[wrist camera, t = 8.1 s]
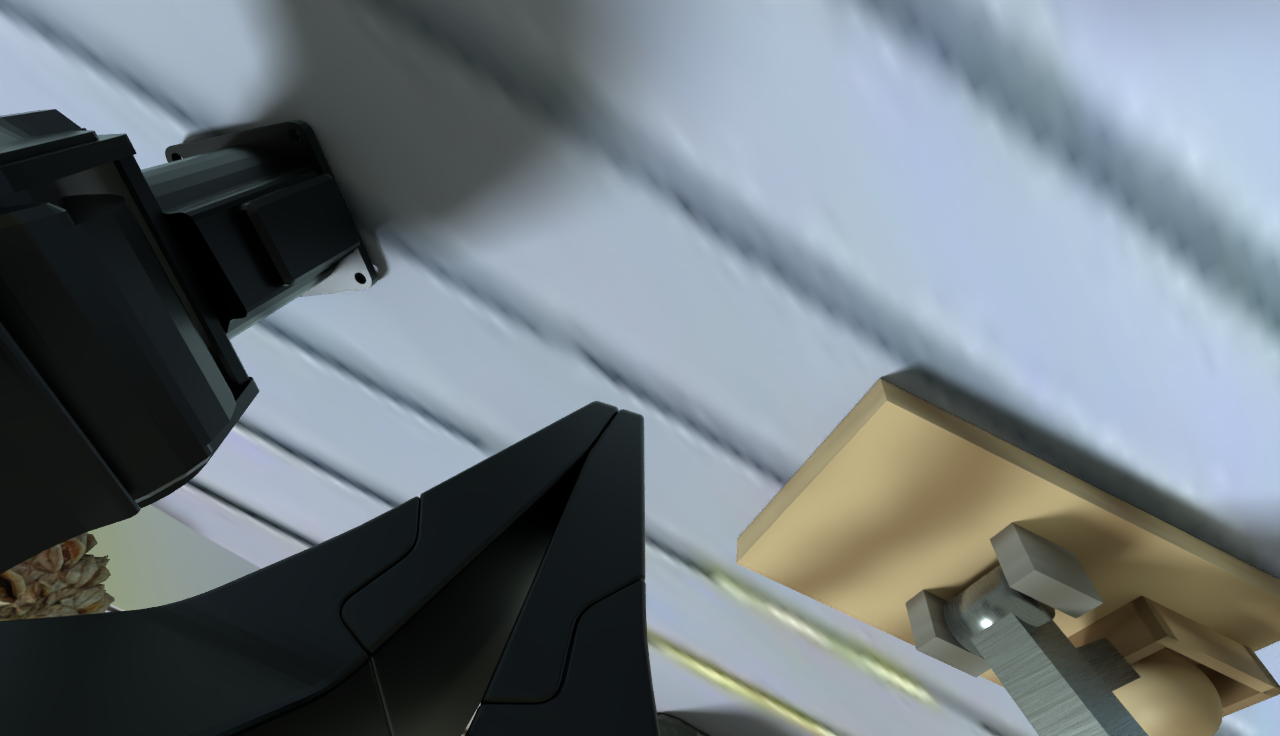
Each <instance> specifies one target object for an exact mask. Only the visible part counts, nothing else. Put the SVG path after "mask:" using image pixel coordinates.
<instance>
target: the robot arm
mask: <svg viewBox="0 0 1280 736" xmlns="http://www.w3.org/2000/svg"><path fill="white" fill-rule="evenodd" d="M296 131H298V132H299V134H300V135H301V139H302V140H299V139H298V137H297V136H296ZM134 154H137V153H136V152H135V150H134V148H133V146H132V144H131V142H130V140H129V138H128V136H127V134H110V135H97V134H96V133H95V131H87V130H86V128H81V127H79V126H78V125H76V124H75V123H74V122H72V121H71V120H70V119H68V118H67V117H66V116H64V115H63V114H62V113H60V112H59V111H57V110H56V109H51V110H38V111H31V112H24V113H18V114H11V115H4V116H0V574H2V573H4V572H6V571H8V570H9V569H11V568H13V567H15V566H16V565H18V564H20V563H22V562H24V561H26V560H28V559H30V558H32V557H33V556H35V555H37V554H39V553H41V552H43V551H45V550H47V549H49V548H51V547H54V546H56V545H58V544H60V543H63V542H65V541H67V540H70V539H72V538H74V537H76V536H79V535H81V534H83V533H86V532H88V531H91V530H94V529H97V528H100V527H103V526H106V525H110V524H113V523H116V522H119V521H122V520H125V519H128V518H131V517H133V516H134V515H136V514H137V513H138V512H139V511H140V508H143V507H145V506H148V505H150V504H152V503H154V502H156V501H158V500H160V499H162V498H164V497H166V496H167V495H169V494H171V493H172V492H174V491H175V490H177V489H178V488H180V487H182V486H183V485H185V484H186V483H187V482H188V481H189V480H191V479H192V478H193V477H194V476H196V475H197V474H198V473H199V472H200V470H201V469H202V468H203V467H204V466H205V465H206V464H207V462H208V461H209V460H210V458H211V457H212V456H213V454H214V453H215V451H216V450H217V449H218V447H219V446H220V445H221V443H222V442H223V440H224V439H225V438H226V436H227V435H228V434H229V432H230V431H231V429H232V428H233V427H234V425H235V424H236V423H237V421H238V420H239V419H240V417H241V416H242V414H243V413H244V412H245V410H246V409H247V408H248V406H249V405H250V403H251V402H252V401H253V399H254V398H255V397H256V395H257V394H258V393H259V389H258V387H257V385H256V383H255V382H254V380H253V378H252V377H248V375H247V373H246V371H245V369H244V367H243V365H242V363H241V361H240V359H239V358H238V356H237V354H236V352H235V350H234V348H233V346H232V344H231V342H230V339H231V338H233V337H235V336H236V335H238V334H239V333H241V332H243V331H244V330H246V329H247V328H249V327H251V326H252V325H254V324H255V323H257V322H259V321H260V320H262V319H263V318H265V317H267V316H268V315H270V314H271V313H273V312H275V311H276V310H278V309H279V308H281V307H283V306H284V305H286V304H287V303H289V302H291V301H292V300H294V299H295V298H297V297H303V296H312V295H321V294H330V293H339V292H348V291H357V290H366V289H368V288H370V287H371V286H373V285H374V284H375V283H376V282H377V274H376V272H375V269H374V267H373V265H372V263H371V260H370V258H369V256H368V254H367V251H366V249H365V247H364V245H363V242H362V240H361V238H360V236H359V233H358V231H357V229H356V227H355V224H354V222H353V220H352V218H351V215H350V213H349V211H348V209H347V206H346V204H345V202H344V200H343V197H342V195H341V193H340V191H339V188H338V186H337V184H336V182H335V179H334V177H333V175H332V173H331V170H330V168H329V166H328V164H327V161H326V159H325V157H324V155H323V152H322V150H321V148H320V146H319V143H318V141H317V139H316V137H315V134H314V132H313V130H312V129H311V127H310V126H309V125H308V124H307V123H306V122H303V121H301V120H293V121H288V122H283V123H278V124H273V125H269V126H264V127H259V128H254V129H249V130H244V131H240V132H235V133H230V134H225V135H220V136H215V137H211V138H206V139H201V140H196V141H191V142H186V143H182V144H177V145H173V146H169V147H168V148H167V149H166V151H165V155H166V158H167V161H168V163H166V164H162V165H158V166H155V167H151V168H147V169H143V170H141V169H140V168H139V166H138V164H137V162H136V160H135V158H134V156H133V155H134ZM181 157H182V158H183V159H181ZM360 273H362V274H363V275H364V276H365V277H366V280H365V279H364V278H362V276H361V274H360ZM644 581H645V484H644V418H643V416H642V415H640V414H637V413H634V412H631V411H628V410H625V409H622V410H618V408H617V407H615V406H612V405H609V404H606V403H603V402H599V401H595V402H592V403H590V404H588V405H586V406H584V407H582V408H581V409H579V410H577V411H575V412H573V413H571V414H569V415H567V416H566V417H564V418H562V419H560V420H558V421H556V422H554V423H553V424H551V425H549V426H547V427H545V428H543V429H541V430H539V431H538V432H536V433H534V434H532V435H530V436H528V437H526V438H525V439H523V440H521V441H519V442H517V443H515V444H513V445H511V446H510V447H508V448H506V449H504V450H502V451H500V452H498V453H497V454H495V455H493V456H491V457H489V458H487V459H485V460H484V461H482V462H480V463H478V464H476V465H474V466H472V467H470V468H469V469H467V470H465V471H463V472H461V473H459V474H457V475H456V476H454V477H452V478H450V479H448V480H446V481H444V482H442V483H441V484H439V485H437V486H435V487H433V488H431V489H429V490H428V491H426V492H424V493H422V494H421V496H420V498H419V497H414V498H412V499H410V500H408V501H407V502H405V503H403V504H401V505H399V506H397V507H395V508H394V509H392V510H390V511H388V512H386V513H384V514H382V515H380V516H378V517H376V518H374V519H372V520H370V521H368V522H366V523H364V524H362V525H360V526H358V527H356V528H353V529H351V530H349V531H347V532H345V533H342V534H340V535H338V536H336V537H334V538H331V539H329V540H327V541H325V542H323V543H320V544H318V545H316V546H314V547H311V548H309V549H307V550H304V551H302V552H300V553H297V554H295V555H293V556H290V557H288V558H286V559H283V560H281V561H279V562H276V563H274V564H272V565H269V566H267V567H265V568H262V569H260V570H258V571H255V572H253V573H251V574H248V575H246V576H244V577H241V578H239V579H237V580H235V581H232V582H230V583H227V584H225V585H223V586H220V587H218V588H216V589H213V590H210V591H208V592H205V593H203V594H200V595H197V596H194V597H192V598H188V599H185V600H182V601H179V602H174V603H171V604H167V605H163V606H158V607H152V608H147V609H140V610H131V611H120V612H107V613H95V614H83V615H70V616H58V617H46V618H33V619H21V620H9V621H0V736H461V735H462V733H463V732H464V730H465V728H466V727H467V725H468V723H469V721H470V720H471V718H472V716H473V715H474V713H475V711H476V709H477V708H478V706H479V704H480V702H481V706H479V708H478V709H477V712H476V714H475V716H474V718H473V720H472V723H471V725H470V727H469V729H468V731H467V733H466V735H465V736H660V731H659V724H658V718H657V711H656V705H655V698H654V691H653V685H652V677H651V669H650V660H649V652H648V643H647V624H646V584H645V582H644Z"/></svg>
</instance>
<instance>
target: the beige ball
mask: <svg viewBox="0 0 1280 736" xmlns="http://www.w3.org/2000/svg"><path fill="white" fill-rule="evenodd" d="M1131 666H1132V667H1133V669H1134V670H1135V671H1136V672H1137V673H1138V674H1139V675H1140V678H1138V679H1136V680H1134V681H1132V682H1130V683H1128V684H1126V685H1124V686H1122V687H1120V688H1118V689H1116V690H1114V691H1112V692H1113V693H1114V695H1115V696H1116V697H1117V698H1118V699H1119V701H1120V702H1121V703H1122V704H1123V706H1124V707H1125V708H1126V709H1127V710H1128V712H1129V713H1130V714H1131V715H1132V716H1133V718H1134V719H1135V720H1136V721H1137V722H1138V724H1139V725H1140V726H1141V727H1142V728H1143V730H1144V731H1145V732H1146V733H1147V734H1148V736H1213V735H1214V734H1215V733H1216V732H1217V730H1218V729H1219V727H1220V724H1221V721H1222V715H1223V711H1222V704H1221V699H1220V697H1219V694H1218V692H1217V690H1216V688H1215V687H1214V685H1213V684H1212V682H1211V681H1210V680H1209V678H1208V677H1207V676H1206V675H1205V674H1204V673H1203V672H1202V671H1201V670H1200V669H1199V668H1198V667H1197V666H1196V665H1194V664H1193V663H1192V662H1190V661H1189V660H1187V659H1186V658H1184V657H1182V656H1180V655H1178V654H1176V653H1174V652H1171V651H1169V650H1166V649H1161V650H1159V651H1157V652H1155V653H1153V654H1151V655H1149V656H1147V657H1145V658H1143V659H1141V660H1139V661H1137V662H1135V663H1133V664H1131Z"/></svg>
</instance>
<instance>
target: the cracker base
mask: <svg viewBox="0 0 1280 736" xmlns="http://www.w3.org/2000/svg"><path fill="white" fill-rule="evenodd" d="M736 563H737V564H739V565H741V566H743V567H746V568H748V569H750V570H752V571H754V572H756V573H759V574H761V575H763V576H765V577H767V578H769V579H772V580H774V581H776V582H778V583H780V584H782V585H785V586H787V587H789V588H791V589H793V590H795V591H797V592H800V593H802V594H804V595H806V596H808V597H810V598H813V599H815V600H817V601H819V602H821V603H823V604H826V605H828V606H830V607H832V608H834V609H836V610H839V611H841V612H843V613H845V614H847V615H849V616H852V617H854V618H856V619H858V620H860V621H862V622H864V623H867V624H869V625H871V626H873V627H875V628H877V629H880V630H882V631H884V632H886V633H888V634H890V635H893V636H895V637H897V638H899V639H901V640H903V641H906V642H908V643H910V644H912V645H914V646H916V650H918V651H920V652H922V653H924V654H926V655H929V656H931V657H933V658H935V659H937V660H939V661H942V662H944V663H946V664H948V665H950V666H952V667H955V668H957V669H959V670H961V671H963V672H965V673H968V674H970V675H972V676H974V677H978V676H981V677H983V678H986V679H988V680H990V681H992V682H994V683H996V684H999V685H1001V686H1003V684H1002V683H1001V682H1000V680H999V679H998V677H997V676H996V675H995V673H994V672H993V670H992V669H991V668H990V666H989V665H988V663H987V662H986V661H985V659H984V658H981V657H978V656H976V655H974V654H972V653H971V652H969V651H968V650H967V649H966V648H964V647H963V646H962V645H961V644H960V643H959V642H958V641H957V640H956V638H955V637H954V636H953V634H952V633H951V632H950V630H949V628H948V627H947V625H946V622H945V620H944V617H943V606H944V605H945V604H946V603H947V602H949V601H950V600H951V599H953V598H954V597H956V596H957V595H958V594H960V593H961V592H963V591H964V590H965V589H967V588H968V587H970V586H971V585H972V584H974V583H975V582H977V581H978V580H979V579H981V578H982V577H984V576H985V575H986V574H988V573H989V572H991V571H992V570H993V569H995V568H996V567H998V566H999V565H1001V568H1002V570H1003V572H1004V575H1005V577H1006V579H1007V582H1008V584H1009V587H1011V588H1013V589H1015V590H1017V591H1019V592H1021V593H1023V594H1025V595H1028V596H1030V597H1032V598H1034V599H1036V600H1038V601H1040V602H1042V603H1044V604H1046V605H1048V606H1050V607H1053V608H1055V617H1054V619H1052V620H1053V621H1054V622H1055V623H1056V625H1057V626H1058V627H1059V628H1060V629H1061V631H1062V632H1063V633H1064V634H1065V635H1066V637H1067V638H1068V639H1069V640H1070V641H1071V643H1072V644H1073V645H1074V646H1075V648H1078V647H1080V646H1083V645H1086V644H1088V643H1091V642H1094V641H1097V640H1099V639H1102V638H1105V637H1106V638H1107V639H1108V640H1109V641H1110V642H1111V643H1112V645H1113V646H1114V647H1115V648H1116V649H1117V650H1118V651H1119V653H1120V654H1121V655H1122V656H1123V657H1124V658H1125V659H1126V661H1127V662H1128V663H1129V664H1130V665H1131V664H1133V663H1135V662H1137V661H1139V660H1141V659H1143V658H1145V657H1147V656H1149V655H1151V654H1153V653H1155V652H1157V651H1159V650H1161V649H1166V650H1169V651H1171V652H1174V653H1176V654H1178V655H1180V656H1182V657H1184V658H1186V659H1187V660H1189V661H1190V662H1192V663H1193V664H1194V665H1196V666H1197V667H1198V668H1199V669H1200V670H1201V671H1202V672H1203V673H1204V674H1205V675H1206V676H1207V677H1208V678H1209V680H1210V681H1211V682H1212V684H1213V685H1214V687H1215V688H1216V690H1217V692H1218V694H1219V697H1220V699H1221V704H1222V711H1223V715H1222V717H1224V716H1226V715H1229V714H1231V713H1234V712H1236V711H1239V710H1241V709H1244V708H1246V707H1249V706H1251V705H1254V704H1256V703H1259V702H1261V701H1264V700H1266V699H1269V698H1271V697H1274V696H1276V695H1279V694H1280V686H1279V685H1278V683H1277V682H1276V681H1275V679H1274V678H1273V677H1272V675H1271V674H1270V673H1269V671H1268V670H1267V669H1266V667H1265V666H1264V665H1263V663H1262V662H1261V661H1260V659H1259V658H1258V657H1257V655H1256V654H1255V653H1254V652H1255V651H1257V650H1259V649H1262V648H1264V647H1266V646H1268V645H1270V644H1273V643H1275V642H1277V641H1279V640H1280V580H1279V579H1277V578H1275V577H1273V576H1271V575H1269V574H1267V573H1265V572H1263V571H1261V570H1259V569H1257V568H1255V567H1253V566H1251V565H1249V564H1247V563H1245V562H1243V561H1241V560H1239V559H1237V558H1235V557H1233V556H1231V555H1229V554H1227V553H1225V552H1223V551H1221V550H1219V549H1217V548H1215V547H1213V546H1212V545H1210V544H1208V543H1206V542H1204V541H1202V540H1200V539H1198V538H1196V537H1194V536H1192V535H1190V534H1188V533H1186V532H1184V531H1182V530H1180V529H1178V528H1176V527H1174V526H1172V525H1170V524H1168V523H1166V522H1164V521H1162V520H1160V519H1158V518H1156V517H1154V516H1152V515H1150V514H1148V513H1146V512H1144V511H1142V510H1140V509H1138V508H1136V507H1134V506H1132V505H1130V504H1128V503H1126V502H1124V501H1122V500H1120V499H1118V498H1116V497H1114V496H1112V495H1110V494H1108V493H1107V492H1105V491H1103V490H1101V489H1099V488H1097V487H1095V486H1093V485H1091V484H1089V483H1087V482H1085V481H1083V480H1081V479H1079V478H1077V477H1075V476H1073V475H1071V474H1069V473H1067V472H1065V471H1063V470H1061V469H1059V468H1057V467H1055V466H1053V465H1051V464H1049V463H1047V462H1045V461H1043V460H1041V459H1039V458H1037V457H1035V456H1033V455H1031V454H1029V453H1027V452H1025V451H1023V450H1021V449H1019V448H1017V447H1015V446H1013V445H1011V444H1009V443H1007V442H1005V441H1004V440H1002V439H1000V438H998V437H996V436H994V435H992V434H990V433H988V432H986V431H984V430H982V429H980V428H978V427H976V426H974V425H972V424H970V423H968V422H966V421H964V420H962V419H960V418H958V417H956V416H954V415H952V414H950V413H948V412H946V411H944V410H942V409H940V408H938V407H936V406H934V405H932V404H930V403H928V402H926V401H924V400H922V399H920V398H918V397H916V396H914V395H912V394H910V393H908V392H906V391H904V390H902V389H900V388H899V387H897V386H895V385H893V384H891V383H889V382H887V381H885V380H883V379H881V378H880V379H879V380H878V381H877V382H876V383H875V385H874V386H873V387H872V388H871V389H870V390H869V391H868V392H867V394H866V395H865V396H864V397H863V398H862V399H861V400H860V401H859V403H858V404H857V405H856V406H855V407H854V408H853V409H852V410H851V412H850V413H849V414H848V415H847V416H846V417H845V418H844V419H843V421H842V422H841V423H840V424H839V425H838V426H837V427H836V428H835V430H834V431H833V432H832V433H831V434H830V435H829V436H828V437H827V439H826V440H825V441H824V442H823V443H822V444H821V445H820V446H819V448H818V449H817V450H816V451H815V452H814V453H813V454H812V455H811V457H810V458H809V459H808V460H807V461H806V462H805V463H804V464H803V466H802V467H801V468H800V469H799V470H798V471H797V472H796V473H795V475H794V476H793V477H792V478H791V479H790V480H789V481H788V482H787V484H786V485H785V486H784V487H783V488H782V489H781V490H780V491H779V493H778V494H777V495H776V496H775V497H774V498H773V499H772V500H771V502H770V503H769V504H768V505H767V506H766V507H765V508H764V509H763V511H762V512H761V513H760V514H759V515H758V516H757V517H756V518H755V520H754V521H753V522H752V523H751V524H750V525H749V526H748V527H747V529H746V530H745V531H744V532H743V533H742V534H741V535H740V536H739V538H738V541H737V561H736ZM1003 687H1004V686H1003Z"/></svg>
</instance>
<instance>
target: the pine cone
mask: <svg viewBox="0 0 1280 736" xmlns="http://www.w3.org/2000/svg"><path fill="white" fill-rule="evenodd" d="M96 544H97V541H96V540H95V538H94V536H93V535H92V534H87V532H86V533H83V534H81V535H79V536H76V537H74V538H72V539H70V540H67V541H65V542H63V543H60V544H58V545H56V546H54V547H51V548H49V549H47V550H45V551H43V552H41V553H39V554H37V555H35V556H33V557H32V558H30V559H28V560H26V561H24V562H22V563H20V564H18V565H16V566H15V567H13V568H11V569H9V570H8V571H6V572H4V573H2V574H0V621H9V620H21V619H33V618H46V617H58V616H70V615H83V614H95V613H106V612H105V611H106V609H107V608H108V607H109V606H110V604H111V603H112V602H113V601H114V597H112V596H110V595H109V594H108V593H106V592H105V591H106V590H104V585H103V584H99V583H101V582H104V581H106V580H107V578H108V577H109V576H110V572H109V570H108V569H107V568H106V567H105V566H106V564H107V563H108V561H109V560H110V559H107V558H108V555H107V556H104V557H94V556H93V555H87V554H85V553H87V552H88V551H89V550H91V549H92V548H93V547H94V546H95V545H96Z"/></svg>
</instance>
